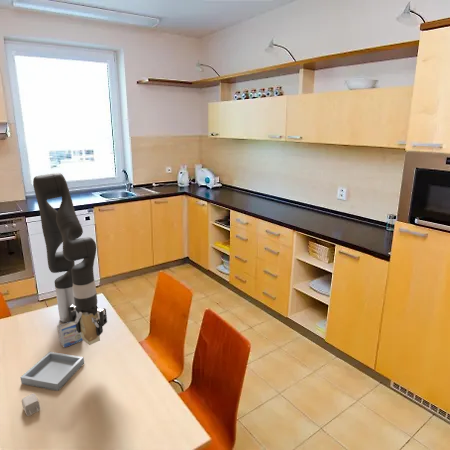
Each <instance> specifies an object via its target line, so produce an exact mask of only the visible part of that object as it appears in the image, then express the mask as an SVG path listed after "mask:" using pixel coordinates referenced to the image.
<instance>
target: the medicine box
mask: <svg viewBox="0 0 450 450" xmlns="http://www.w3.org/2000/svg"><path fill="white" fill-rule="evenodd" d="M57 328H58V334H59V341H60V345H61V346H62V347H63V348H67V347H70V346H72V345H75V344H77V343H80V342H82V341H84V340H83V339H82V336H81V332H80V333H78V331H77V330H76V324H75V323H74V322H64V323H63V324H60V325H58V326H57Z"/></svg>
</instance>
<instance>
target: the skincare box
mask: <svg viewBox="0 0 450 450" xmlns="http://www.w3.org/2000/svg"><path fill="white" fill-rule="evenodd" d="M91 317H93V318H94V319H96V318H98V314H97V313H96V315H95V316H94V315H93V314H92V313H90V314H89V315H88V314H86V313H85V312H83V314H82V316H81V318H80V327H81V336H82V339H83V340H82V341H84V342H85V343H86V344H87V345H89V346H91V345H93V344H96V343H98V342H99V341H101V337H100V336H101V335H100V336H97V331H96V325H95V324H94V323H92V319H91ZM97 322H98V320H97ZM98 323H99V322H98Z"/></svg>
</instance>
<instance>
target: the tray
mask: <svg viewBox="0 0 450 450" xmlns="http://www.w3.org/2000/svg"><path fill="white" fill-rule="evenodd" d="M84 359H85V358H84V356H79V355H72V354H66V353H59V352H55V351H48V352H47V353H46V354H45V355H44V356H43V357H41V359H39V361H37V362H36V363H35V364H34V365H32V367H30V368H29V369H28V370H27V371H25V373H24V374H23V375H21V376H20V383H21V385H26V386H31V387H35V388H36V387H37V388H41V389H46V390H51V391H58V392H59V391H60V390H61V388H63V387H64V386H65V384H66V383H68V381H69V380H70V379H71V378H72V377H73V376H74V375H75V374H76V373H77V372H78V371H79V370H80V368H82V367H83V365H84V364H85V360H84Z"/></svg>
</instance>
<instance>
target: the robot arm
mask: <svg viewBox="0 0 450 450" xmlns="http://www.w3.org/2000/svg"><path fill="white" fill-rule="evenodd" d="M32 179H33V181H32V184H33V185H32V186H33V190H34V194H35V197H36V202H37V205H38V206H37V207H38V208H39V209H38V210H39V215H40V221H41V222H40V223H41V228H42V229H41V230H42V233H43V237H44V243H45V248H46V249H45V250H46V258H47V259H46V260H47V266H48V270H49V271H50V272H51V273H52V274H58V273H59V274H60V273H63V274H62V275H60V276H58V277H57V278H55V279H54V288H55V296H56V302H57V309H58V315H59V321H60V322H62V323H68V322H74V323H75V324H76V330H77V331H78V333H80V332H81V327H80V318H81V316H82V314H83V312H85V313H86V314H88V315H89V314H90V313H92V314H93V315H94V316H95V315H96V313H97V314H98V318H96V319H94V318H93V317H91V319H92V323H94V324H95V325H96V331H97V336H101V335H102V334H103V332H104V329H103V327H104V326H105V325H106V324H107V323H108V317H107V315H108V314H107V309H106V308H102V309H101V308H98V295H97V286H96V281H95V275H94V264H95V258H96V253H97V244H96V242H95V240H94V239H93V238H92V237H89V236H86V237H81V236H82V235H83V234H84V231H83V227H82V225H81V223H80V220H79V219H78V216H77V213H76V209H75V207H74V203H73V200H72V196H71V192H70V188H69V186H68V182H67V180H66V178H65V176H64V174H63V173H61V172H52V173H46V174H39V175H36V176H34V177H33V178H32ZM57 198H61V203H60V205H59V207H58V210H56V209H55V208H54V207H53V206H52V205H51V204H50V203H49V201H48V200H51V199H57ZM61 245H62V250H61V251H58V249H59V247H60V246H61ZM79 260H81V261H80V262H78V263H77V264H75V261H76V262H77V261H79ZM97 320H98V322H97Z"/></svg>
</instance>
